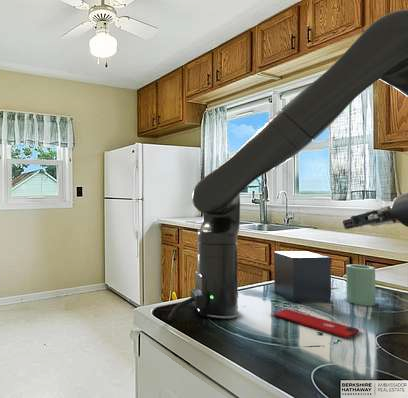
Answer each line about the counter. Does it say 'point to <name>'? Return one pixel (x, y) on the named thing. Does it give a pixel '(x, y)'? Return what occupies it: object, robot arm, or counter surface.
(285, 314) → the electronic device
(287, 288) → the dark gray box
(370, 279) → the jar
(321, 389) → the counter surface
